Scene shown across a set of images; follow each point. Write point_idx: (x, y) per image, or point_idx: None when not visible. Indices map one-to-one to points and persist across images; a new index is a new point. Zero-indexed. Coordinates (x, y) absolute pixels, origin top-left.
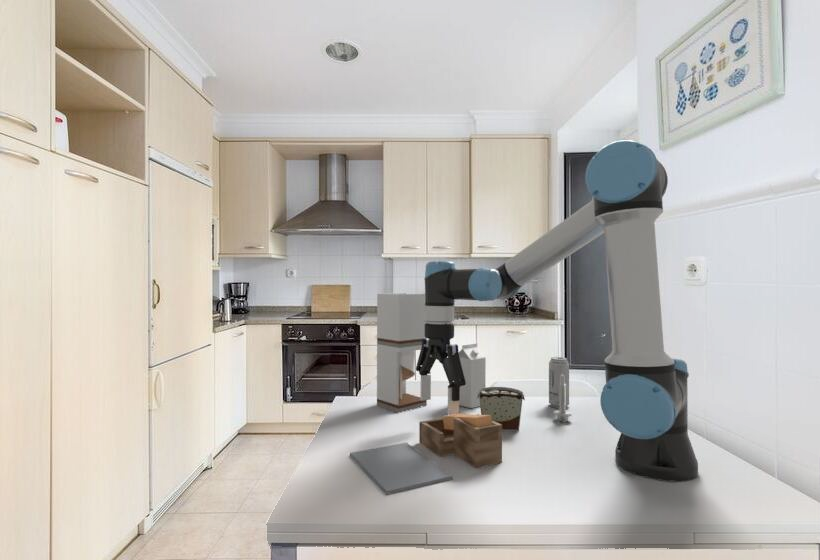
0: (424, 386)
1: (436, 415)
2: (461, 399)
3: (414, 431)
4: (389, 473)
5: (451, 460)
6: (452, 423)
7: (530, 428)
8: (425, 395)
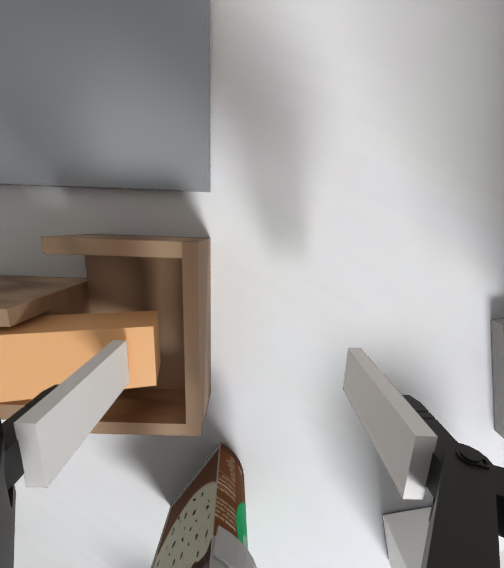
0: (375, 401)
1: None
2: None
3: (303, 274)
4: (1, 13)
5: None
6: (86, 321)
7: None
8: (353, 377)
